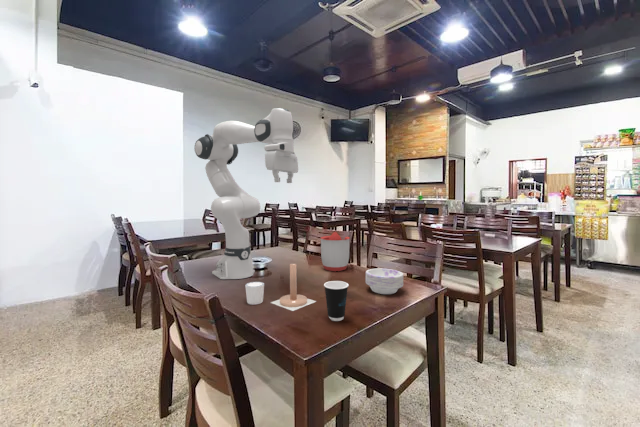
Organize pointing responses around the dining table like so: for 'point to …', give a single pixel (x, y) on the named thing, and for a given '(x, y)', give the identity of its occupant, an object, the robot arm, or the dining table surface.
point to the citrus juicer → (335, 252)
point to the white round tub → (254, 292)
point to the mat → (293, 307)
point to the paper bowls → (384, 280)
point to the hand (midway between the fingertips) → (283, 182)
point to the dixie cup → (336, 299)
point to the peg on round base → (293, 292)
